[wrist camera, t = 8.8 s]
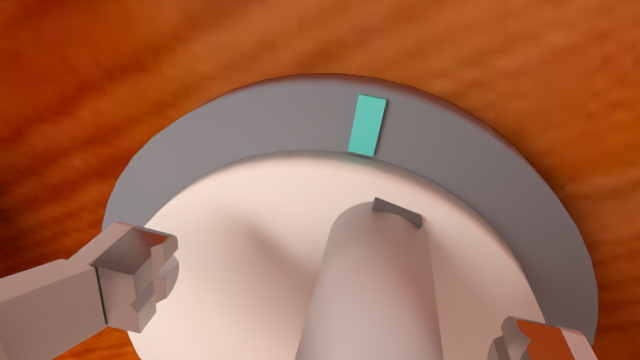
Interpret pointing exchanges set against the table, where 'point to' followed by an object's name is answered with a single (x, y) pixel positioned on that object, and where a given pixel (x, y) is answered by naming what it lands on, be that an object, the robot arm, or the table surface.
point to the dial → (330, 266)
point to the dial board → (384, 145)
